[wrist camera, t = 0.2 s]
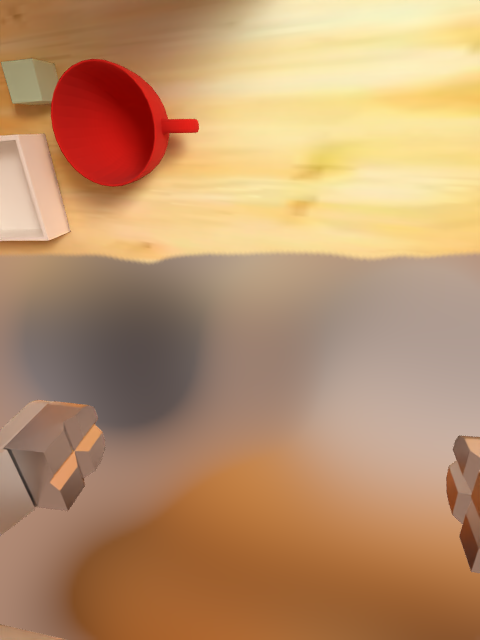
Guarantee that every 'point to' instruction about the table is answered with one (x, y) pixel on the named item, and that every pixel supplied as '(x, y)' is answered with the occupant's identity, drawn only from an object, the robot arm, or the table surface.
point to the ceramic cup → (111, 122)
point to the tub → (29, 191)
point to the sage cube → (30, 81)
